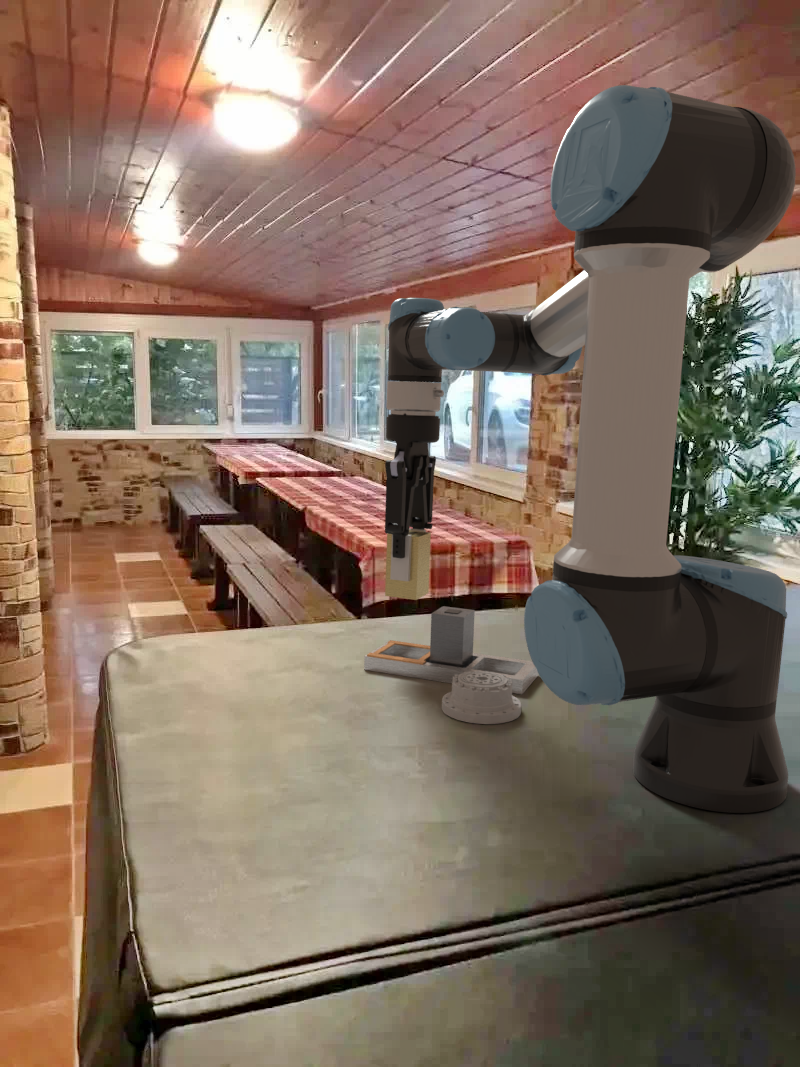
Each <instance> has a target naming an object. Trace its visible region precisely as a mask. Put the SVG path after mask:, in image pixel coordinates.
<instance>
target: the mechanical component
mask: <svg viewBox="0 0 800 1067" xmlns="http://www.w3.org/2000/svg"><path fill="white" fill-rule="evenodd" d="M521 702H522V701H521V700H520V699H519V698H517V697H515V696H514V695H513V693H512V680H511V679H507V678H506V675H499V674H496V672H489V671H488V672H487V671H473V672H464V673H463V674H460V675H458V674H457V675H455V677H453V681H452V683H451V691H448V692H447V693H446V694H444V695H443V696H442V698H441V710H442V712H443V713H444V714H445V715H446V716H448V717H450V718H452V719H455V720H457V721H462V722H465V723H471V724H480V725H481V724H483V725H497V724H504V723H508V722H512V721H514V720H516V719H518V718H519V717H520V716H521V714H522V703H521Z"/></svg>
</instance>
